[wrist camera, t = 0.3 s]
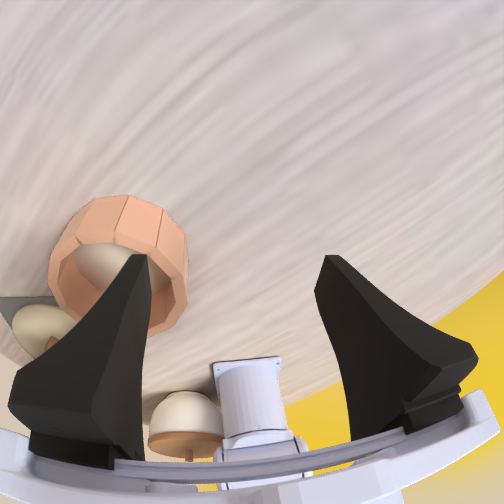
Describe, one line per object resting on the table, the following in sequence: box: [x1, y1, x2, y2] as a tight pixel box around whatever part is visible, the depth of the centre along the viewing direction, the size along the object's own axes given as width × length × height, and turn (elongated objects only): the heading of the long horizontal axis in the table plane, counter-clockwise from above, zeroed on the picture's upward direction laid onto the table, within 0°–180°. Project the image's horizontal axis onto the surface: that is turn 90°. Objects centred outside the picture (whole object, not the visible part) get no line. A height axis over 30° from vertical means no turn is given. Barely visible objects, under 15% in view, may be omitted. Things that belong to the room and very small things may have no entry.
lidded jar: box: [148, 391, 225, 462], centre depth 35 cm, size 11×11×9 cm
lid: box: [12, 303, 78, 359], centre depth 26 cm, size 12×12×4 cm
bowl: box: [47, 195, 188, 338], centre depth 21 cm, size 10×10×4 cm
